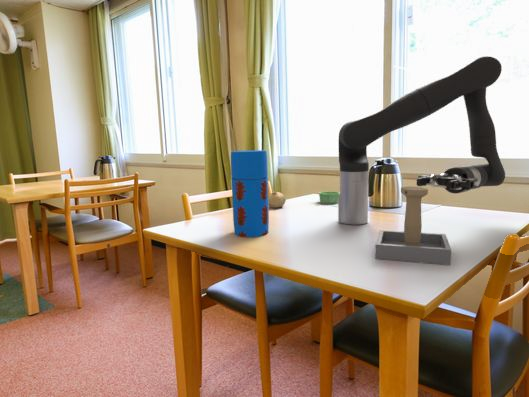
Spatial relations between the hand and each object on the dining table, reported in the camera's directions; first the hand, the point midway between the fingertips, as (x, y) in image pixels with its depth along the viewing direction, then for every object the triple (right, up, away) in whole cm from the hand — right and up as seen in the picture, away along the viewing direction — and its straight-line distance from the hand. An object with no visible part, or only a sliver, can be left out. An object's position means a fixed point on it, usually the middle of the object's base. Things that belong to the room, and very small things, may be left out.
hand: (433, 183), depth 99 cm
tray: (-8, -17, -6) cm, 20 cm away
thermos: (-49, -15, +17) cm, 54 cm away
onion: (-40, -8, +57) cm, 70 cm away
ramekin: (-16, -6, +65) cm, 67 cm away
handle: (-8, -16, -6) cm, 19 cm away
